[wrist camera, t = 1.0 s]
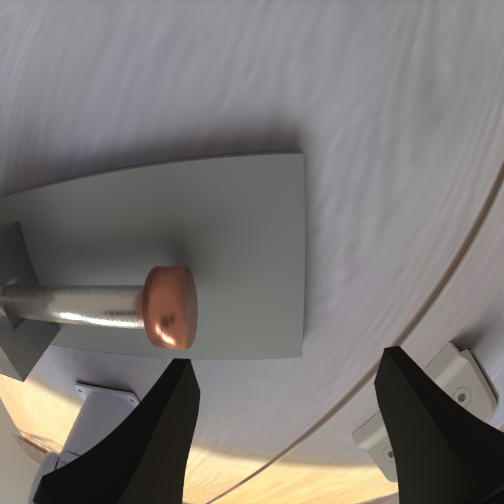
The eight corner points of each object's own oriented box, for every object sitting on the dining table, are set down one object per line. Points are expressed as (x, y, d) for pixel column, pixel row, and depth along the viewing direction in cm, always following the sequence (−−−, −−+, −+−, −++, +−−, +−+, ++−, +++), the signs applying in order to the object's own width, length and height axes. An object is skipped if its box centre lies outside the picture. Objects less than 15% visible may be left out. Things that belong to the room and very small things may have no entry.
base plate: (299, 343, 22) (301, 357, 20) (35, 331, 23) (28, 340, 22) (300, 150, 16) (303, 153, 14) (-13, 201, 17) (-24, 206, 16)
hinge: (451, 338, 22) (509, 414, 14) (466, 338, 24) (517, 403, 16) (349, 435, 28) (383, 500, 20) (373, 428, 30) (405, 486, 22)
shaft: (201, 315, 18) (186, 366, 14) (35, 308, 19) (6, 341, 15) (189, 251, 16) (166, 295, 12) (16, 260, 17) (-19, 289, 13)
